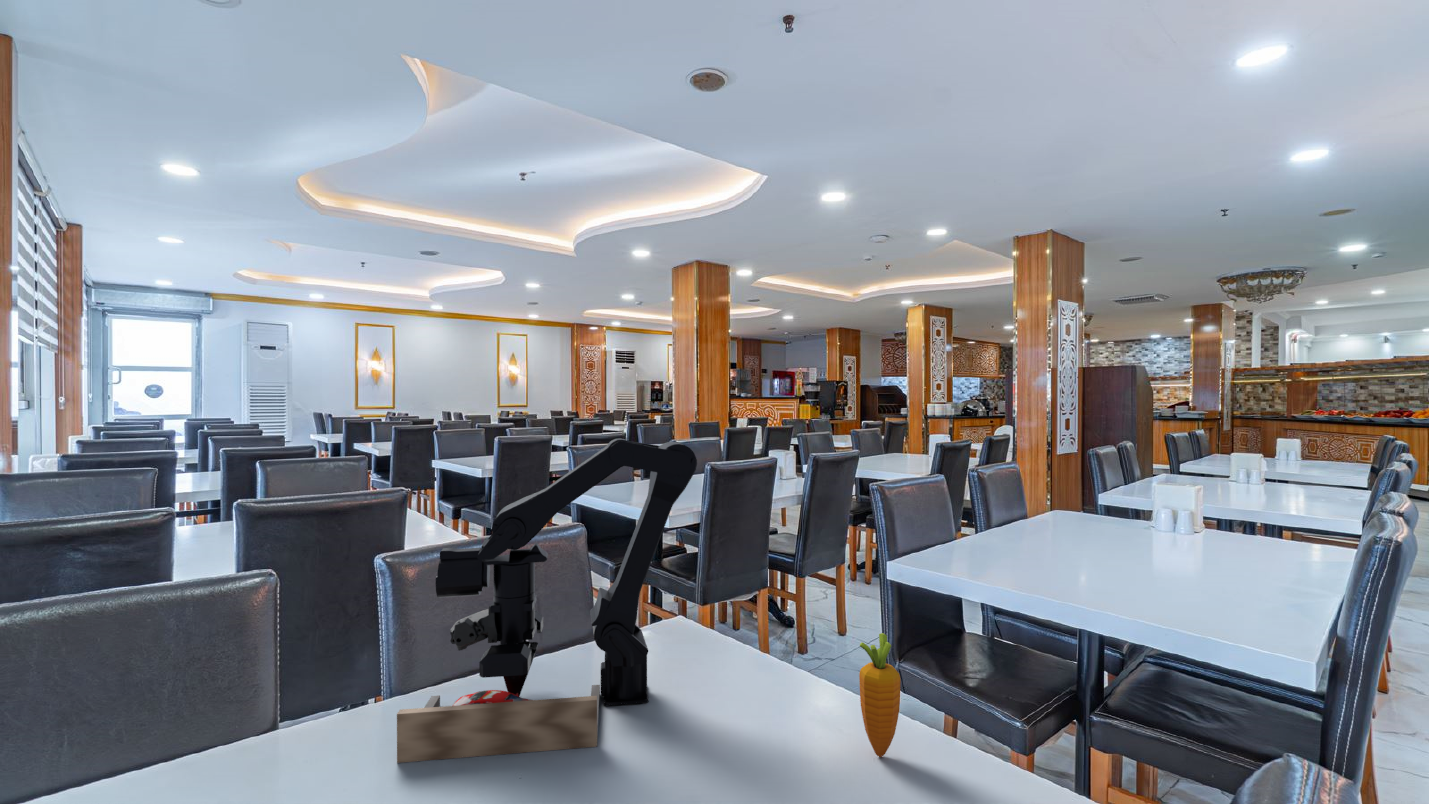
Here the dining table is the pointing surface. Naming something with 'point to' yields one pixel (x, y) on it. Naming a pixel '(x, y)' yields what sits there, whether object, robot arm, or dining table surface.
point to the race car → (488, 697)
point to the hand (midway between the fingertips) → (514, 699)
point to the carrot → (879, 696)
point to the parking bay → (497, 728)
